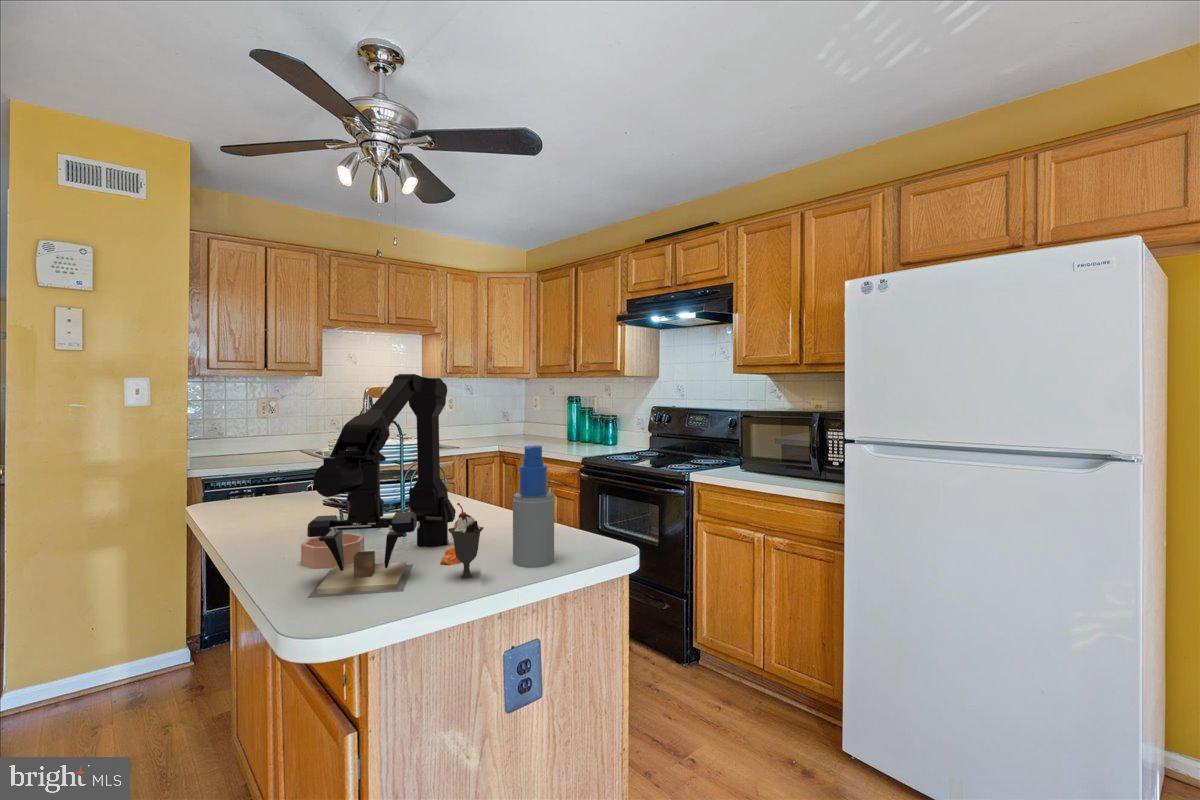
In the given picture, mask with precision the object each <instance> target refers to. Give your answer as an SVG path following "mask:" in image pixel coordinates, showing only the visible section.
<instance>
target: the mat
mask: <svg viewBox="0 0 1200 800" xmlns="http://www.w3.org/2000/svg"><path fill="white" fill-rule="evenodd" d="M413 566H414V564H406V569H405V571H404V574H403V576H402V578H401V581H400V583H399V586H398V588H397V589H394V590H379V591H365V592H350V593H335V594H321V595H316V589H317V588H318V586H319V585H320V584H321V583H322V582H323V580H324V579H325V578H326V577H327V575H328V574H329V573H330V572H331V571H332V569H333V568H330V570H329V571H328V572H327V573H326V574H325V575H324V577H323V578H322V579H321V580H320V581H319V583H318V584H317V585H316V586H315V587H314V588H313V590H311V592H310V593H309V595H308V596H307V597H306V599H310V598H312V599H313V598H326V597H327V598H328V597H342V596H355V595H369V594H371V595H372V594H384V593H387V594H388V593H401V592H404V590H405V588H406V585H407V582H408V579H409V577H410V574H411V571H412V569H413Z"/></svg>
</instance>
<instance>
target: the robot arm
mask: <svg viewBox="0 0 1200 800" xmlns="http://www.w3.org/2000/svg"><path fill="white" fill-rule="evenodd" d="M447 395H448V386H447V384H446V383H445V382H444V381H443V380H442V379H441V378H439V377H425V376H421V375H418V374H416V373H399V374H396V375H394V377H393V379H392V382H391V383H390V384H389V386H387V388H386V389H385V391H383V392H382V394H381V395H380V396H379V398H378V399H377V400H376V401H375V402H374V403H373V405H372V406H371V407H370V408H369V409H368V410H367V411H365V412H363V413H361V414H359V415H356V416H354V417H353V418H351V419H350V420H348V421H347V422H346V423H345V424H344V425H343V427H342V429H341V431H340V433H339V436H338V438H337V440H336V442H335V444H334V446H333V449H332V450H331V453H330V455H329V457H323V460H322V462H323V464H322V465H321V466H319V467H318V468H317V469H316V471H315V473H314V476H313V479H312V480H313V481H312V482H313V487H314V489H315V491H316V492H317V493H318V494H319V495H320V496H322V497H325V498H332V497H335V496H339V495H343V494H346V493H347V495H346V499H345V500H346V502H345V512H347V517H346V518H347V519H338V517H337V514H336V515H335V514H334V515H317V516H316V517H315V518H313V519H312V520H311V521H310V522H308V524H307V533H306V535H307V537H308V538H314V537H320V538H319V541H324V542H325V543H326V545H327V546H328V548H329V549H330V551H331V552H332V554H333V556H334V558H335V560H336V562H337V564H338V566H339V568H340V571H343V570H344V554H343V545H342V534H343V533H344V531H347V530H348V531H349V530H368V529H388V530H389V531H388V533H387V535H386V541H385V553H384V563H385V568H387V567H388V565H389V563H390V561H391V559H392V555H393V551H394V548H395V545H396V543H397V542H398V539H399V538H402V537H404V536H405V534H406V533H414V532H415V530H416V546H417V547H419V548H424V547H425V548H437V547H445V546H449V544H450V543H449V542H450V540H449V531H448V529H449V523H453V522H454V520H455V519H456V512H457V511H456V508H455V506H453V504H452V502H451V500H450V499H449V493H448V487H447V486H446V485H445V483H444V482H443V480H442V479H441V474H440V473H441V469H440V463H441V462H440V461H441V459H440V424H439V423H440V419H439V417H440V414H441V413H442V411H443V410H444V408H445V406H446V403H447ZM407 403H408V405H409V407H410V409H411V411H412V412H413V413H414V415H415V417H416V446H417V447H416V450H417V451H416V453H417V454H416V456H417V480H416V482H415V484H414V485H413V486H412V487H410V488H409V490H408V495H409V496H408V497H409V500H408V501H409V502H408V506H409V512H408V511H407V512H404V511H403V512H395V513H394V514H393V517H384V506H385V505H384V503H385V500H384V499H383V498H381V469H380V468H381V463H382V462H385V461H386V460H387V458H386V456H384V455H383V454H382V453H381V451H382V450H383V448H384V447H385V445H386V443H387V442H388V439H389V437H390V436H391V435H390V432H391V431H390V426H391V424H392V423H393V421H394V420H395V419H396V418H397V416H398V415H399V414H400V412H401V411H402V410H403V408H404V407H405V406H406V404H407ZM417 522H418V523H419V524H418V525H419V526H417ZM416 527H417V529H416Z"/></svg>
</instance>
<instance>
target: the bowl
mask: <svg viewBox="0 0 1200 800" xmlns="http://www.w3.org/2000/svg"><path fill="white" fill-rule="evenodd" d="M319 538H320V537H308V538H307V539H306V540H304V541H303V542H302V544H300V559H301V560H300V565H301V566H303V567H307V568H310V569H313V570H316V569H317V570H318V569H319V570H320V569H333V568H334V567H335V566H338V564H337V562H336V560H335V558H334V556H333V554H332V552H331V551H330V549H329V548H328V546H327V545H326V543H325V542H324V541H319ZM342 545H343V554H344V566H345V565H354V556H355V554H356V553H357V552H364V551H365V536H364V535H362V534H356V533H352V532H346V533H344V532H343V533H342Z"/></svg>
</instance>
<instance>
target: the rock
mask: <svg viewBox="0 0 1200 800" xmlns="http://www.w3.org/2000/svg"><path fill="white" fill-rule="evenodd" d="M439 563H440V565H443V566H444V565H447V566H454V565H460V564H461V563H462V562H461V561H459V560H458V558H457V557H456V553H455V548H454V547H450V548H449V547H448V548H447V549H446V551H445V552H444V556H442V557H441V559H440V562H439Z"/></svg>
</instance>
